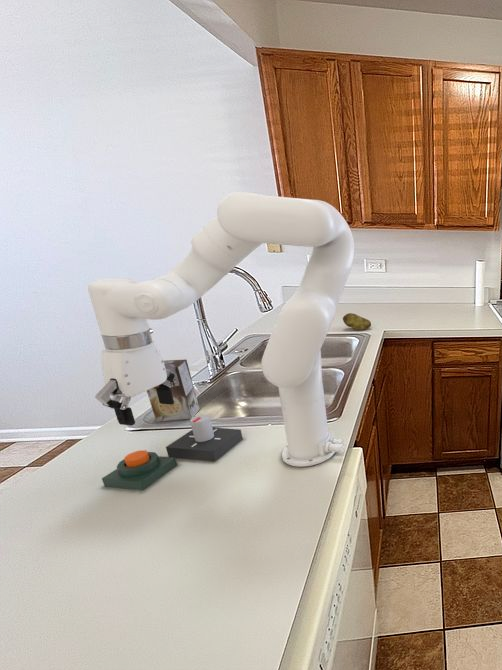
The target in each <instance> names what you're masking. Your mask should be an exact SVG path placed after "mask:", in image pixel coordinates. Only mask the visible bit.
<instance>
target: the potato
mask: <svg viewBox="0 0 502 670" xmlns="http://www.w3.org/2000/svg"><path fill="white" fill-rule="evenodd" d="M342 321H343V323H344V324H345V326H347V327H348V328H351V329H353V330H357V331H362V330H368V329H369V328H371V326H372V321H370V320H369V319H368V318H365V317H363V316H360V315H358V314H356V313H352V312H351V313H350V312H349V313H346V314H345V315H343V317H342Z"/></svg>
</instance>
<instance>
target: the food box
mask: <svg viewBox="0 0 502 670" xmlns="http://www.w3.org/2000/svg"><path fill="white" fill-rule="evenodd" d="M163 362H164V364H171V365H175V366H176V368H175V373H174V375H175V377H174V379H173V381H172V383H173V386H172V387H171V391H172V396H173V400H174V404H172V405H169V404H161V403H160V402H159V399H158V395H157V391H156V388H157V387H159V386H156V387H154V388H151V389H149V390H147V391H146V393H147V396H148V399H149V402H150V406H151V409H152V413H153V415H154V419H155V422H156V423H158V422H159V423H160V422H161V423H162V422H168V421H169V422H171V421H180V420H190V419H191V418H193V417H195V416H197V414H198V412H199V411H200V405H199V402H198V398H197V395H196V390H195V387H194V383H193V379H192V375H191V372H190V368H189V364H188V360H187V359H185V358H184V359H171V360H163Z"/></svg>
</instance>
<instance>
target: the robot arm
mask: <svg viewBox="0 0 502 670" xmlns="http://www.w3.org/2000/svg"><path fill="white" fill-rule="evenodd" d="M190 243H191V250H190V252H189V253H188V254H187V255H186V257H185V258H184V259H183V260H182V261H180V262H179V263H178V264H177V265H176V266H174V267H173V268H172V269H171V270H170V271H169V272H167V273H166V274H164V275H161V276H158V277H155V278H152V279H148V280H144V281H142V282H141V281H140V282H137V281H135V280H134V279H131V278H124V277H116V278H115V277H111V278H109V277H108V278H101V279H96V280H93V281H91V282H89V284H88V287H87V289H88V290H87V291H88V294H89V298H90V302H91V305H92V308H93V311H94V314H95V318H96V322H97V325H98V328H99V332H100V335H101V339H102V341H103V345H104V350H101V355H100V356H101V357H100V359H101V370H102V376H103V382H104V386H103V387H102V388H101V389H100V390H99V391H98V392H97V393H96V394H95V396H94V398H95V399H96V400H97V401H99V402H100V403H102V405H103V406H105V407H107V408H110V409H112V410H114V413H115V417H116V419H117V422H118V424H119V425H123V426H134V425H136V421H135V417H134V413H133V410H132V408H131V407H129V404H130V402H131V399H132V398H133V397H135V396H138V395H140V394H142V393H145V392H147V390H149V389H151V388H154V387H156V386H159V387H157V388H156V391H157V395H158V399H159V402H160V403H161V404H169V405H172V404H174V400H173V396H172V391H171V387H172V386H173V383H172V381H173V379H174V377H175V375H174V373H175V368H176V366H175V365H171V364H164V362H163V361H164V359H163V357H162V354H161V351H160V349H159V347H158V345H157V344H156V342H155V340H153V338H152V334H154V330H153V328H151V327H150V326H149V325H150V324H149V321H148V320H152V321H154V320H155V321H158V320H163V319H167V318H169V317H171V316H173V315H175V314H177V313H179V312H181V311H183V310H185V309H187V308H188V307H190V306H192V305H193V304H194V303H196V302H197V301H198V300H200V299H201V298H202V297H203V296H204V295H205V294H207V292H209V291H210V290H211V289H212V288H214V287H215V286H216V285H217V284H218V283H219V282H220V281H221V280H222V279H223V278H224V277H225V276H227V275H229V273H230V272H232V270H233V269H234V268H235V267H236V266H238V265H239V264H240V263H241V262H242V261H243V260H244V259H246V258H247V257H248V256H250V255H251V254H252V253H253V252H254V251H256V249H257V248H259V247H260V246H261V245H262V244H266V245H280V246H292V247H293V246H294V247H307V248H312V251H311V254H310V257H309V260H308V262H307V264H306V267H305V269H304V273H303V276H302V278H301V280H300V283H299V284H298V287H297V290H296V291H295V292H294V294H293V295H291V297H290V298H289V299H288V300H287V301H285V302H284V304H283V306H282V307H281V309H280V311H279V313H278V315H277V318H276V320H275V323H274V325H273V328H272V330H271V333H270V336H269V339H268V342H267V344H266V347H265V349H264V352H263V355H262V357H261V363H260V365H261V371H262V374H263V376H264V378H265V379H266V380H267V381H268V382H269V383H270V384H271V385H273V386H275V387H278V394H279V401H280V407H281V414H282V419H283V426H284V432H285V438H286V442H287V445H285V447H284V448H283V449H282V452H281V457H282V460H283V462H284V463H285V464H287V465H289V466H292V467H296V468H297V467H298V468H299V467H300V468H301V467H302V468H304V467H311V466H316V465H319V464H321V463H323V462H325V461H327V460H329V459H330V458H332V456H334V455H335V453H336V452H337V453H343V452H344V451H345V444H344V439H342V438H341V439H340V438H337V439H336V438H335V437H334V433H333V432H332V431H329V425H328V417H327V408H326V403H325V402H326V401H325V391H324V383H323V381H324V380H323V371H322V370H323V369H322V368H323V367H322V351H321V349H322V347H323V345H324V342H325V340H326V338H327V335H328V333H329V331H330V329H331V327H332V324H333V321H334V319H335V315H336V311H337V308H338V305H339V302H340V299H341V298H342V295H343V292H344V290H345V288H346V287H345V286H346V284H347V282H348V279H349V276H350V273H351V271H352V267H353V264H354V260H355V240H354V236H353V233H352V230H351V228H350V225H349V224H348V222H347V221H346V219H345V218H344V216H343V215H342V214H341V213H340V212H339V211H338V209H337V208H336V207H335V206H333V205H331V204H330V203H328V202H327V201H324V200H320V199H311V198H309V199H308V198H299V197H287V196H278V195H277V196H276V195H267V194H260V193H257V192H250V191H233V192H230V193H228V194H227V195H225V196H224V197H223V198H222V199H221V200H220V202H219V204H218V205H217V208H216V216H215V217H213V219H212V220H210V221H209V222H208V223H207V224H206V225H204V226H203V227H202V228H201V229H199V231H197V232H196V233H195V234H194V235H193V236H192V237H191V240H190ZM111 396H112V397H111ZM120 401H121V402H120Z"/></svg>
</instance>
